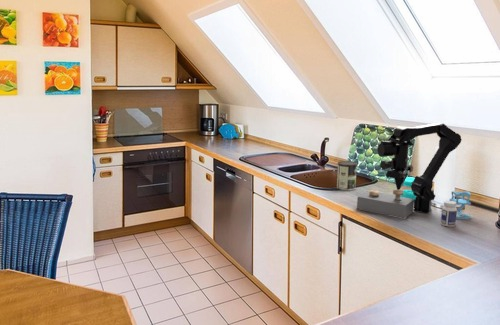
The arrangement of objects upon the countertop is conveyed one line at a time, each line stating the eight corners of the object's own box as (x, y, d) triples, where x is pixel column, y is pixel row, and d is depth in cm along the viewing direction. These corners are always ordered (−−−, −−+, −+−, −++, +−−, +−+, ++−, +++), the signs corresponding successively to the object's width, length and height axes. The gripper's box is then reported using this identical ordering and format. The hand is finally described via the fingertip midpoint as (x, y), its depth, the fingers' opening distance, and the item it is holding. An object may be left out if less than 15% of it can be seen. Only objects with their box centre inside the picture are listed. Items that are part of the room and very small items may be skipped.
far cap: (379, 204, 203) (380, 191, 202) (376, 207, 200) (377, 193, 199) (370, 203, 206) (371, 189, 205) (367, 205, 203) (367, 191, 201)
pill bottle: (456, 224, 183) (458, 201, 181) (454, 228, 178) (457, 205, 176) (441, 221, 185) (443, 199, 183) (439, 225, 181) (441, 202, 179)
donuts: (400, 176, 224) (420, 177, 221) (398, 194, 226) (418, 196, 223) (402, 180, 214) (423, 182, 212) (400, 200, 216) (421, 201, 214)
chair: (463, 213, 197) (465, 187, 194) (471, 219, 189) (474, 192, 186) (445, 213, 197) (448, 187, 195) (453, 219, 189) (456, 192, 186)
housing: (412, 211, 198) (413, 199, 197) (404, 218, 189) (405, 205, 188) (366, 202, 211) (367, 191, 210) (356, 208, 202) (357, 196, 201)
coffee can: (354, 185, 242) (356, 161, 239) (356, 190, 232) (357, 165, 229) (336, 185, 244) (337, 160, 241) (336, 189, 234) (338, 164, 231)
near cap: (403, 204, 196) (404, 189, 195) (400, 206, 193) (401, 192, 192) (394, 202, 199) (395, 188, 198) (390, 204, 196) (391, 190, 194)
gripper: (390, 150, 203) (388, 182, 207) (375, 156, 189) (373, 191, 192) (414, 153, 197) (411, 186, 200) (401, 159, 182) (398, 195, 185)
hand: (398, 189), depth 195 cm, fingers closed
